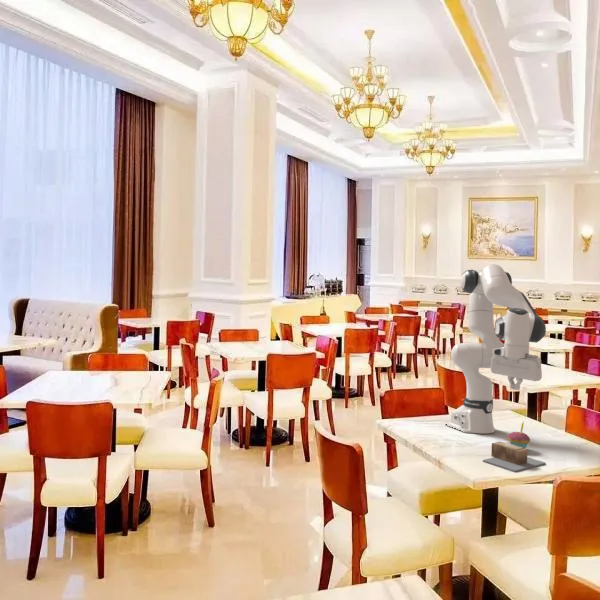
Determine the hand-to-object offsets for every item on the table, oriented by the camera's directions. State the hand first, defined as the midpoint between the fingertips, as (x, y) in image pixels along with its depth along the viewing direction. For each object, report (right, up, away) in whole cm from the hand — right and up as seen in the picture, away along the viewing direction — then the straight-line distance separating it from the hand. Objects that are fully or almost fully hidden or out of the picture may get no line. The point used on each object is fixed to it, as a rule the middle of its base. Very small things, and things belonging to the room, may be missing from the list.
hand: (514, 389), depth 227 cm
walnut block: (-6, -23, +4) cm, 25 cm away
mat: (-1, -27, -2) cm, 27 cm away
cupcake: (+7, -27, +15) cm, 31 cm away
